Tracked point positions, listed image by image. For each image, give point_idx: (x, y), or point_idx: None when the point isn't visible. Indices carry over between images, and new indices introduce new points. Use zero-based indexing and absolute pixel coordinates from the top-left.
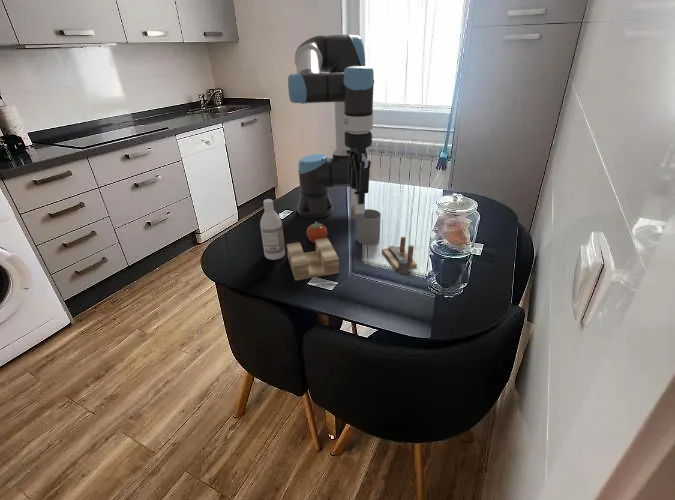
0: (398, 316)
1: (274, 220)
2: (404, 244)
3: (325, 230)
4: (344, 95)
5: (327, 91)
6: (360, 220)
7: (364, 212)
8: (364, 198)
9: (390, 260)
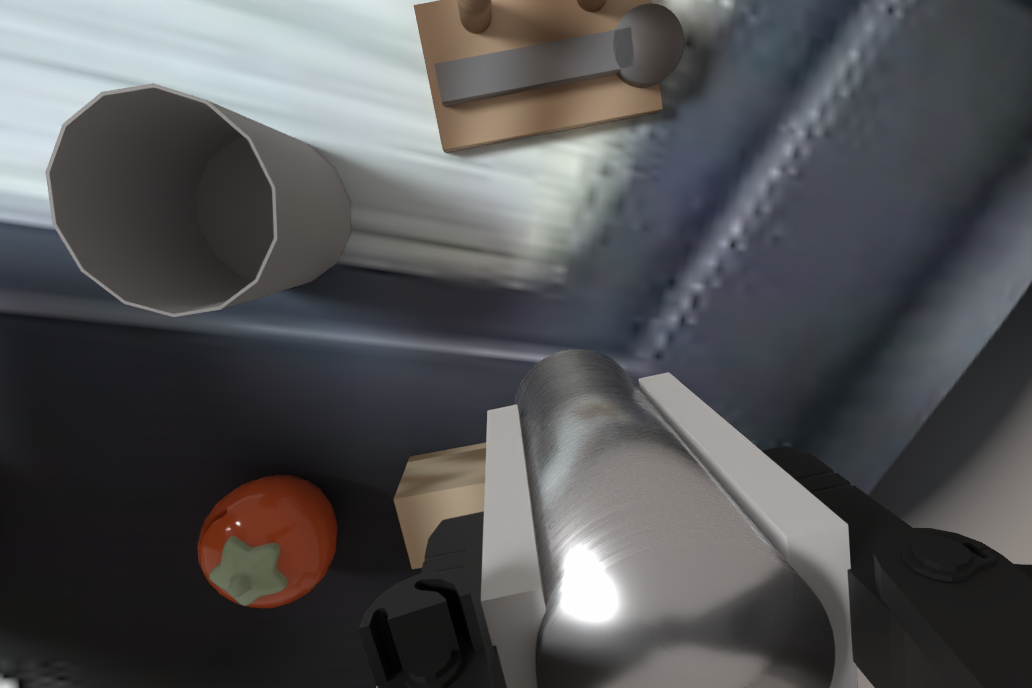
0: (1008, 195)
1: None
2: None
3: (283, 506)
4: None
5: None
6: (255, 289)
7: (668, 375)
8: (769, 463)
9: (575, 125)
